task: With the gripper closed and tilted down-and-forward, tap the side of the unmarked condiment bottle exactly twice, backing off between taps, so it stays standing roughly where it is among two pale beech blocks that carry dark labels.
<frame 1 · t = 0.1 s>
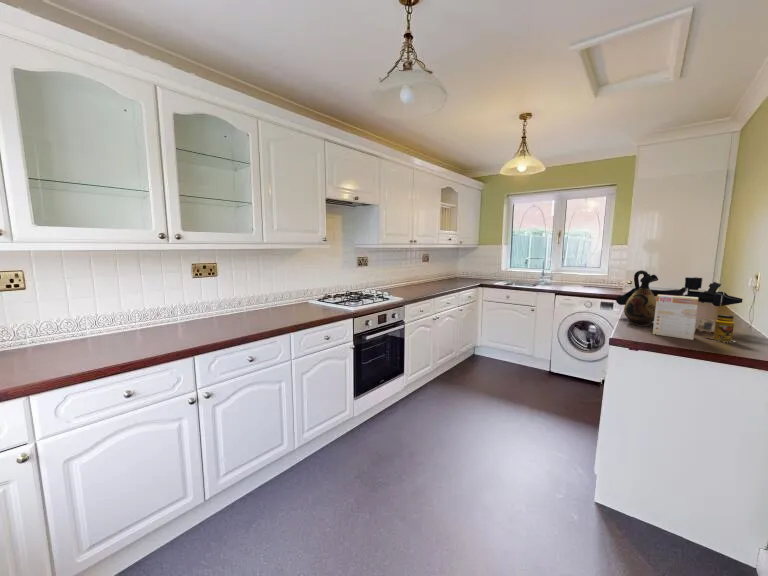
hand: (742, 300, 168), 17 cm above the countertop, tool horizontal, fingers open, 9 cm apart
coffeecake box: (672, 336, 162), on the countertop
beech block a: (688, 331, 172), on the countertop
ceramic jug: (638, 324, 188), on the countertop
beech block b: (705, 331, 173), on the countertop
condiment: (719, 340, 156), on the countertop
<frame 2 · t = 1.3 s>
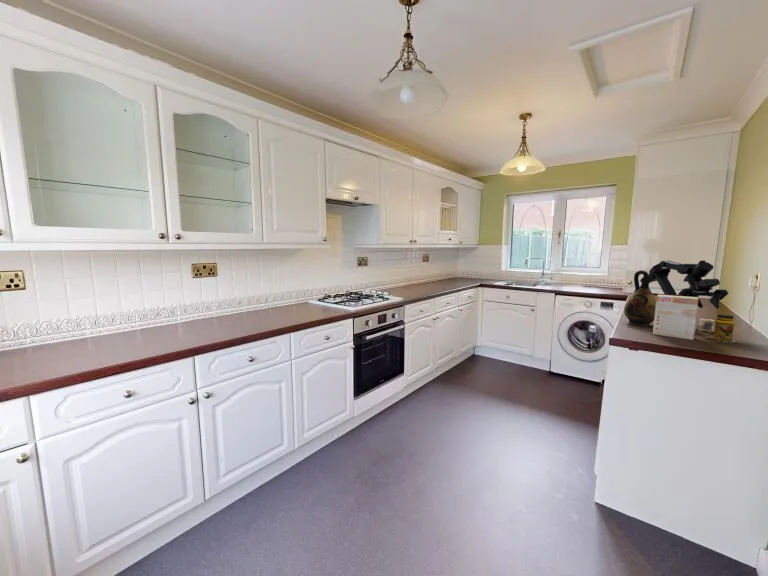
hand: (709, 307, 163), 14 cm above the countertop, tool tilted 45°, fingers open, 6 cm apart
nothing on the countertop moved.
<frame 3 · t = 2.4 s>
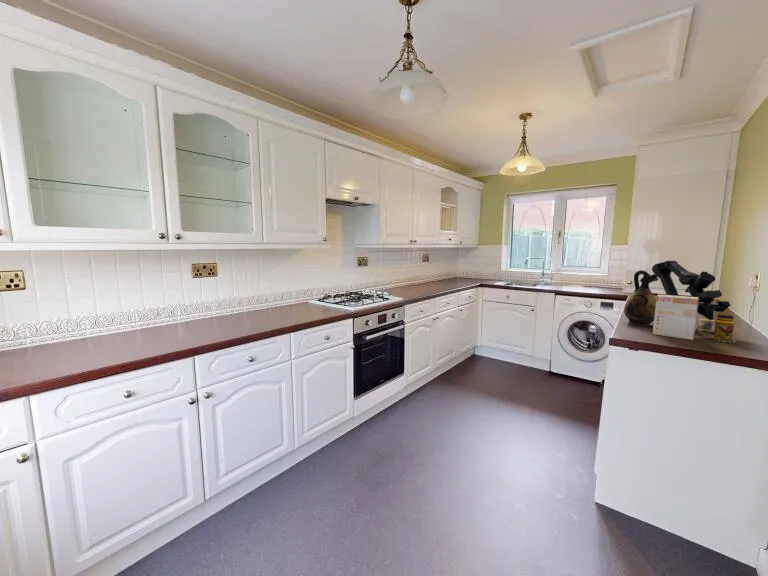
hand: (711, 319, 161), 8 cm above the countertop, tool tilted 45°, fingers closed
nothing on the countertop moved.
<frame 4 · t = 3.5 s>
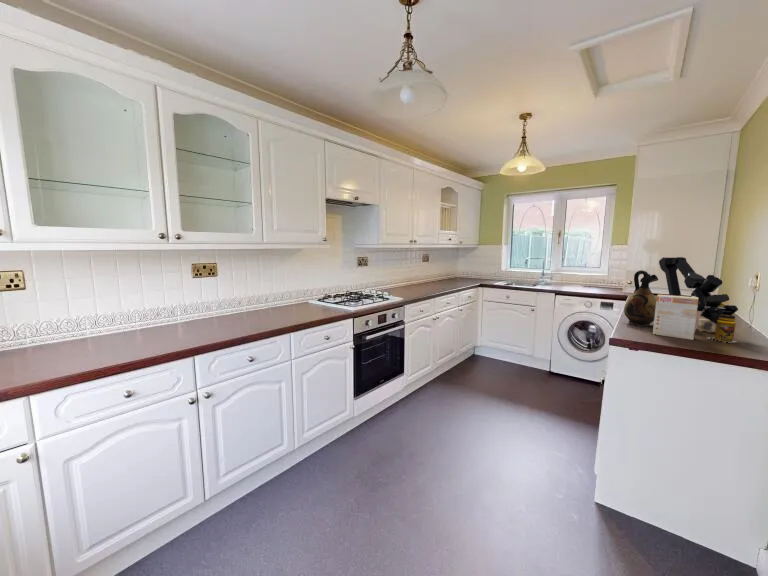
hand: (719, 324, 157), 7 cm above the countertop, tool tilted 45°, fingers closed
condiment: (721, 340, 155), on the countertop, touching gripper
everything else where it was.
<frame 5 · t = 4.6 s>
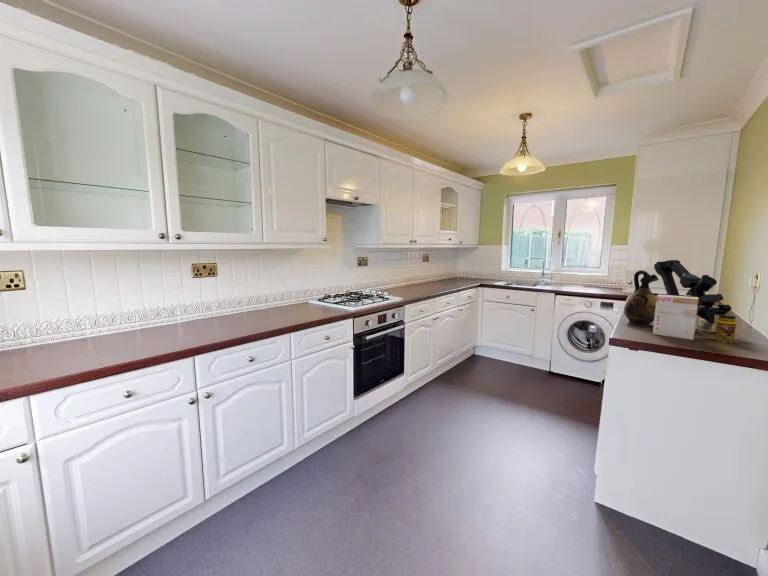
hand: (713, 323, 160), 7 cm above the countertop, tool tilted 45°, fingers closed
condiment: (721, 340, 155), on the countertop
everything else where it was.
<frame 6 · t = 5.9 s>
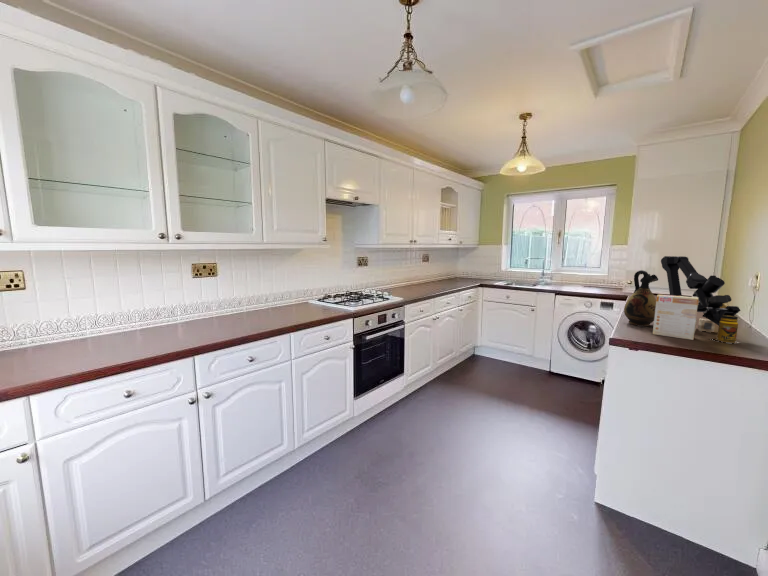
hand: (721, 325, 156), 7 cm above the countertop, tool tilted 45°, fingers closed
condiment: (723, 341, 154), on the countertop, touching gripper
everything else where it was.
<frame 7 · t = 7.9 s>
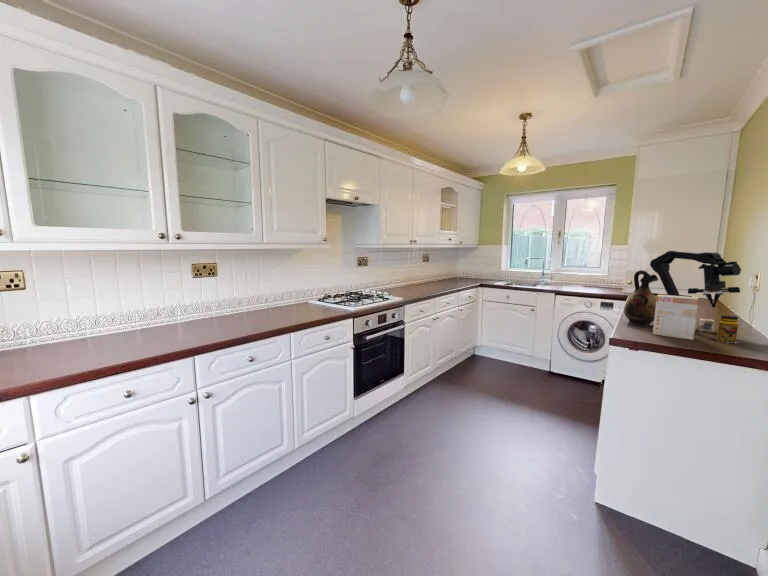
hand: (713, 307, 170), 13 cm above the countertop, tool pointing down, fingers closed
condiment: (723, 341, 154), on the countertop
everything else where it was.
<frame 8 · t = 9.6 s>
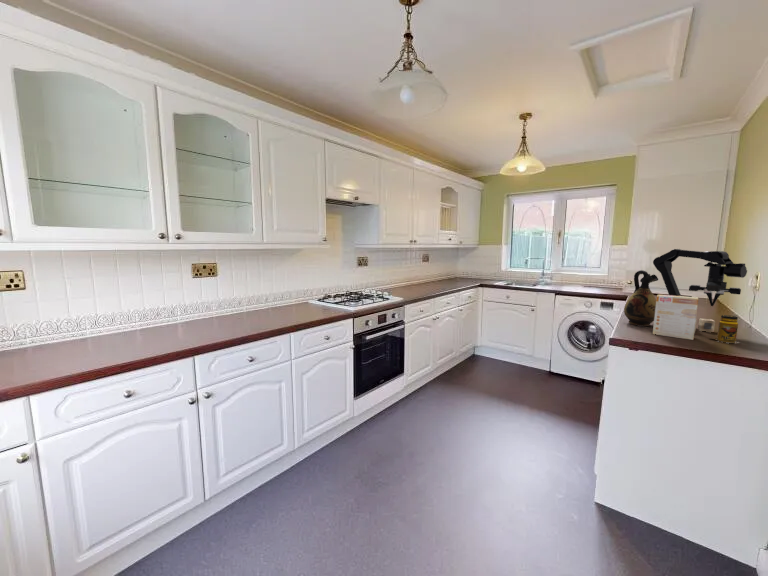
hand: (711, 306, 172), 13 cm above the countertop, tool pointing down, fingers closed
nothing on the countertop moved.
at the end: condiment moved 1.8 cm from its start; condiment tilted 0°; the gripper is holding nothing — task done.
